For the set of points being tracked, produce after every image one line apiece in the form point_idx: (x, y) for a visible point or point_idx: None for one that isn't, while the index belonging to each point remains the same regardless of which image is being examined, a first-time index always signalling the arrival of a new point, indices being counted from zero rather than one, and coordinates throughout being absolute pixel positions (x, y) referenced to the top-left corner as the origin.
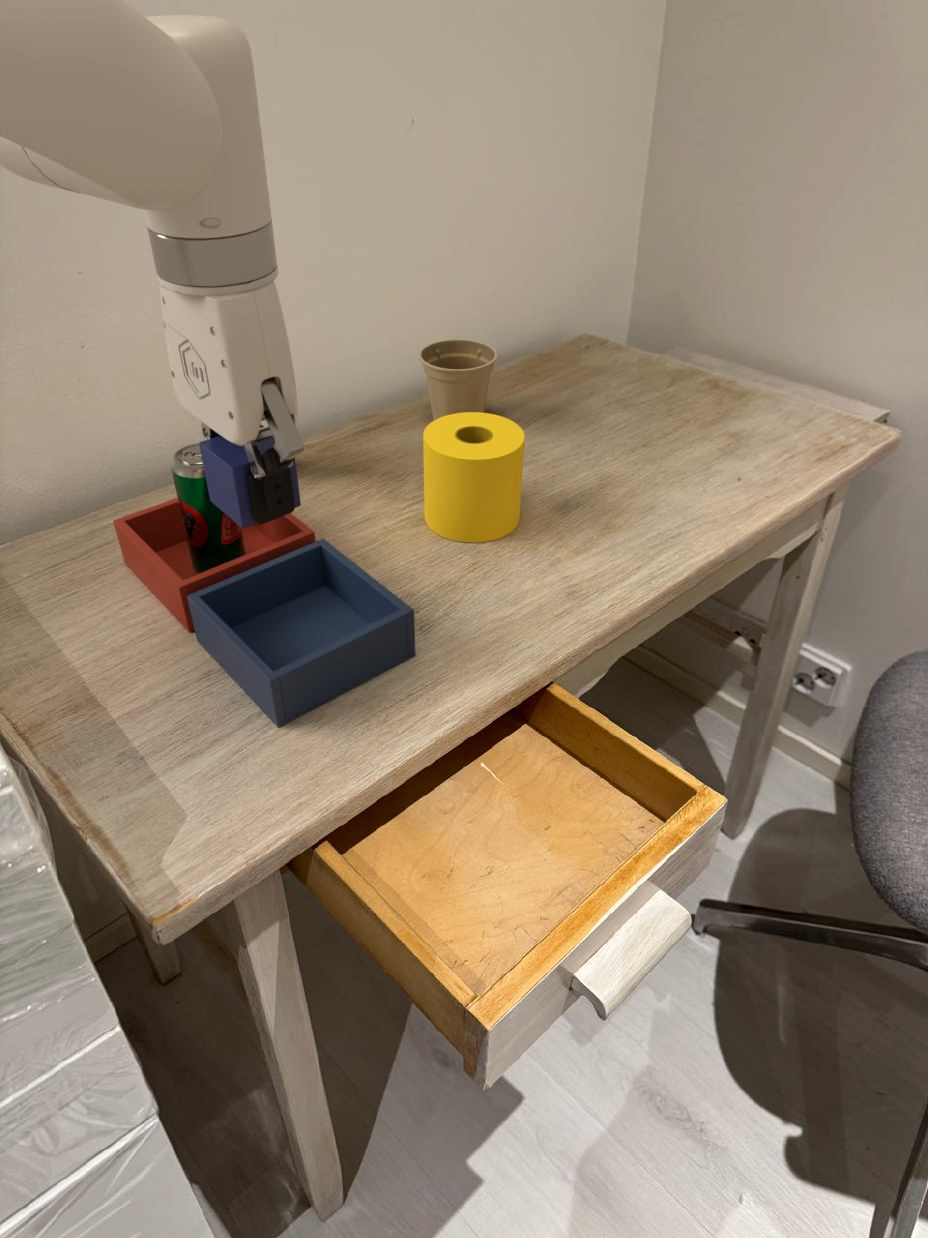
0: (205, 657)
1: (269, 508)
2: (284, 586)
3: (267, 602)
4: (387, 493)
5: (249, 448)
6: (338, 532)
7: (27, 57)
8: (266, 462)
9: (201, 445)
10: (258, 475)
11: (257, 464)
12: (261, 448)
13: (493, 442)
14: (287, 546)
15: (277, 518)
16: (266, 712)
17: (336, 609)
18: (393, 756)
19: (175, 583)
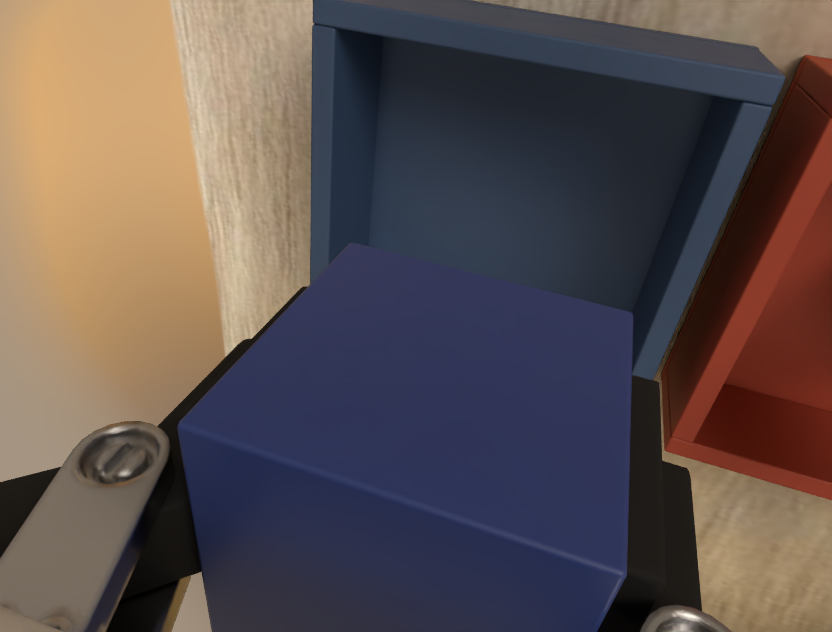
0: (687, 20)
1: (235, 347)
2: (646, 295)
3: (662, 242)
4: (725, 605)
5: (35, 574)
6: (729, 490)
7: None
8: (22, 513)
9: (580, 553)
10: (143, 445)
11: (51, 489)
12: (282, 611)
13: None
14: (691, 387)
15: (822, 463)
16: None
17: None
18: (196, 88)
19: None
